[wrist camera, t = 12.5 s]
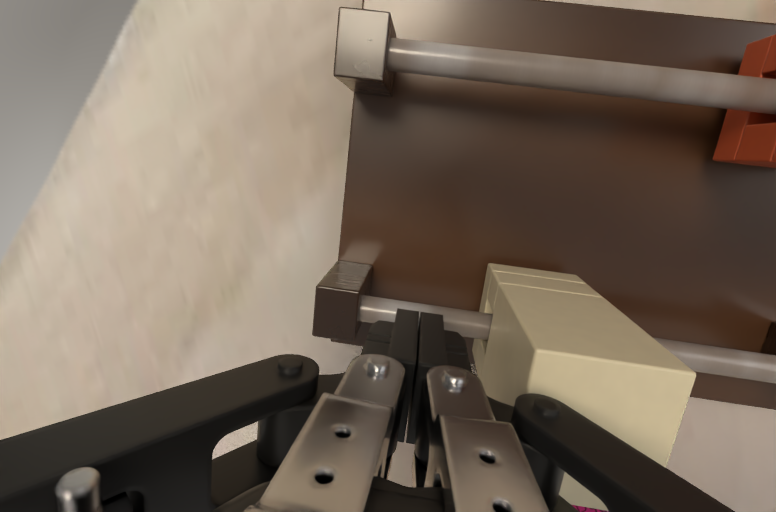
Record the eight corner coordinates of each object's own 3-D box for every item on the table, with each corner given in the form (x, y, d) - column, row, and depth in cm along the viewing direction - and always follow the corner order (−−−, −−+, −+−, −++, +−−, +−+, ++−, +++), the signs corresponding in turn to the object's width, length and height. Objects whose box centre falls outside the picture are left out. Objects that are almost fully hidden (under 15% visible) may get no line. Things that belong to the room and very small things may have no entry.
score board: (368, -7, 17) (344, -70, 12) (888, 46, 16) (1087, -1, 11) (335, 331, 21) (307, 384, 16) (757, 395, 20) (865, 474, 15)
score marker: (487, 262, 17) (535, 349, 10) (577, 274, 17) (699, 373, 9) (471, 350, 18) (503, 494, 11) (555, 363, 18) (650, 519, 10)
